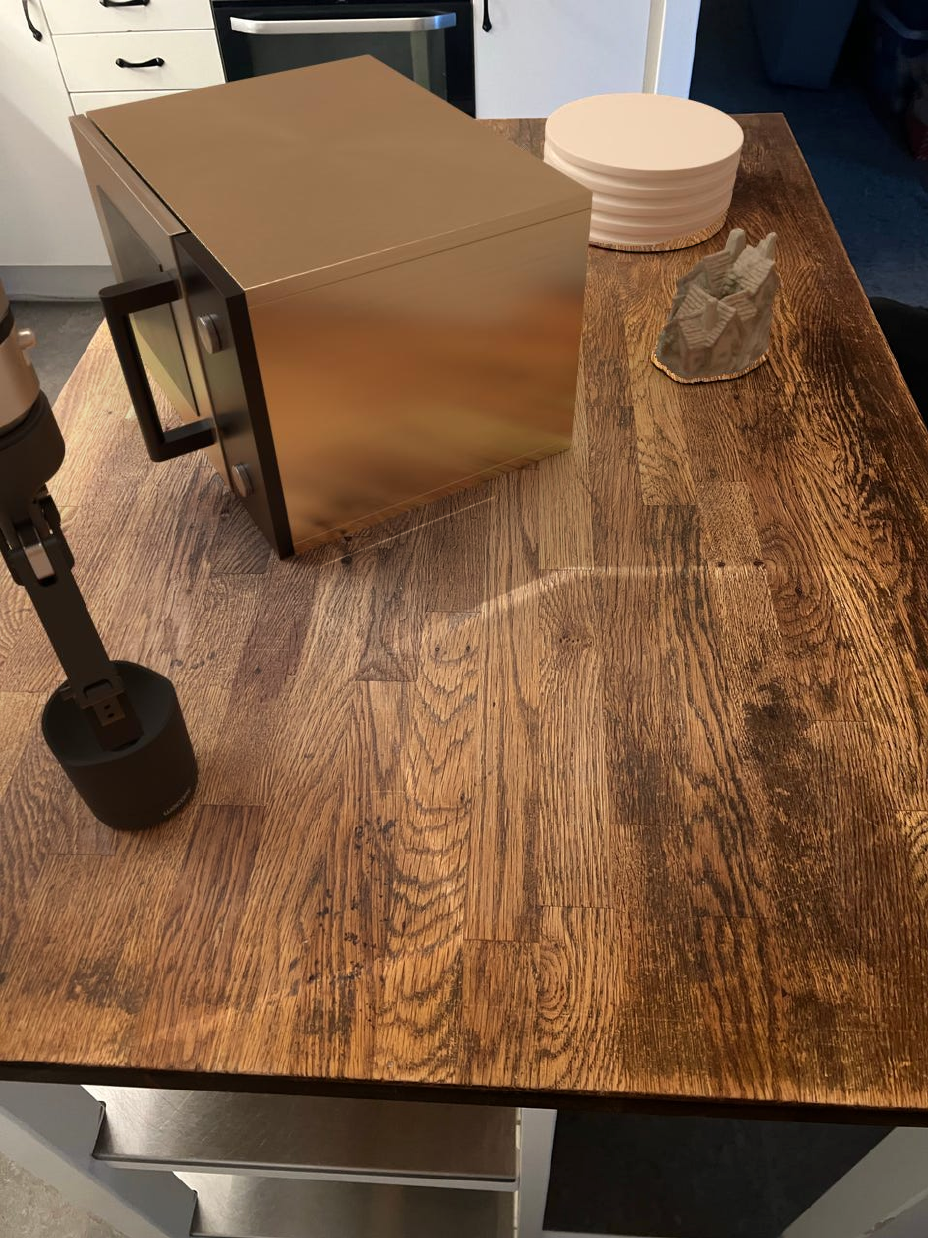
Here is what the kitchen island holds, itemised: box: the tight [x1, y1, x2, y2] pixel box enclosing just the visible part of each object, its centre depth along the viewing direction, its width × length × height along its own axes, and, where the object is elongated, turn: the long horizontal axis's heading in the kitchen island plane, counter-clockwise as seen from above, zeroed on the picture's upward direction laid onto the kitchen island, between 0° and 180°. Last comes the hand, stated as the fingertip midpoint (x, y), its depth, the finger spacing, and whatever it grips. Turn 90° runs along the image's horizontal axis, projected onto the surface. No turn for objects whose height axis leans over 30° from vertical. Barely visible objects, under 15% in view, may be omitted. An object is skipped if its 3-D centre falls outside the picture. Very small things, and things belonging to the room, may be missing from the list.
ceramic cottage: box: [652, 227, 782, 380], centre depth 114 cm, size 16×16×15 cm
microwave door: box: [68, 113, 235, 492], centre depth 99 cm, size 8×32×28 cm, turn 31°
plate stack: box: [543, 92, 745, 246], centre depth 141 cm, size 28×28×12 cm
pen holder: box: [40, 659, 199, 831], centre depth 73 cm, size 9×9×10 cm
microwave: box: [85, 53, 593, 561], centre depth 102 cm, size 35×44×28 cm
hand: (93, 670), depth 66 cm, fingers open, 13 cm apart
